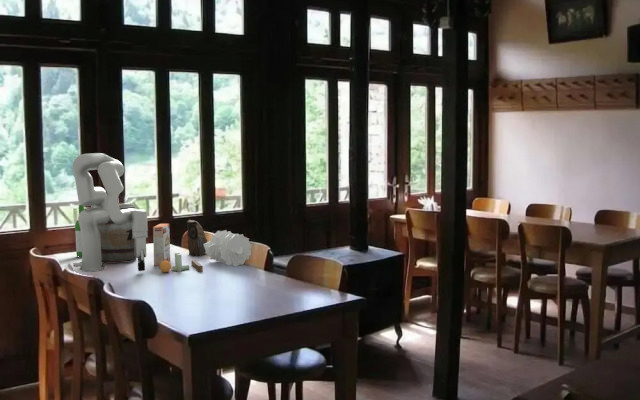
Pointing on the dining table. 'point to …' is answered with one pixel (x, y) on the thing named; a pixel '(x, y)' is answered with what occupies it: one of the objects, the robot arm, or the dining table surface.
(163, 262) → the ball
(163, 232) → the cracker box
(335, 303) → the dining table surface
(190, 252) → the dark brown tall piece
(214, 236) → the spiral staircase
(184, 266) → the front pin
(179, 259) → the pin
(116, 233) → the barrel
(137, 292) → the dining table surface
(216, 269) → the dining table surface
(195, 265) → the brown wooden bar
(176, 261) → the pin
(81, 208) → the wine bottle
